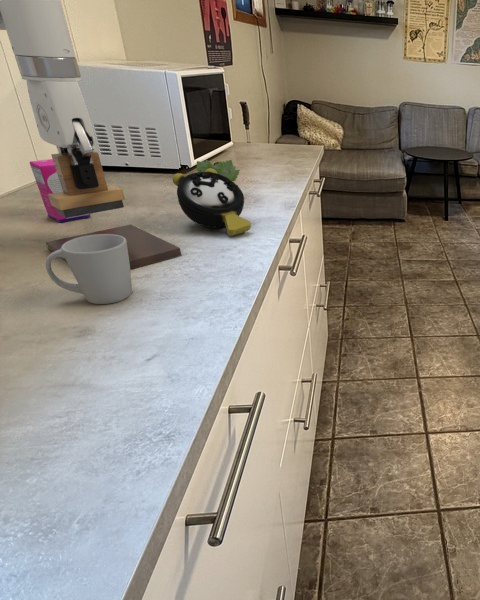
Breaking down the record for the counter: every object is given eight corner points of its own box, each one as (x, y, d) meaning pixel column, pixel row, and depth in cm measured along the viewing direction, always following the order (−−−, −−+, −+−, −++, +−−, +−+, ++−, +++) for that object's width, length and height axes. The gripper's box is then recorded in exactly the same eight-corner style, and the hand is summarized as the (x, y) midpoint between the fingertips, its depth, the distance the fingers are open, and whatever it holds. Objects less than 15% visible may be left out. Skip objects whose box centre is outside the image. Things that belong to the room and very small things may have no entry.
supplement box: (79, 211, 102) (63, 157, 97) (91, 217, 99) (75, 162, 94) (47, 216, 98) (28, 160, 93) (58, 223, 95) (39, 165, 90)
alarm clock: (197, 256, 94) (147, 188, 88) (218, 233, 107) (176, 172, 100) (250, 233, 94) (204, 162, 87) (264, 213, 107) (226, 150, 100)
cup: (138, 303, 69) (123, 249, 65) (53, 314, 65) (32, 257, 61) (141, 282, 75) (128, 231, 71) (63, 291, 71) (45, 238, 67)
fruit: (237, 202, 125) (240, 204, 112) (191, 198, 120) (189, 199, 107) (238, 163, 123) (241, 160, 110) (192, 156, 118) (190, 152, 105)
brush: (63, 219, 80) (44, 158, 75) (53, 213, 82) (34, 154, 77) (127, 207, 87) (113, 152, 83) (117, 202, 89) (102, 148, 85)
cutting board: (94, 279, 75) (91, 270, 74) (48, 249, 84) (45, 241, 83) (181, 255, 85) (180, 247, 85) (132, 231, 94) (130, 224, 93)
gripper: (1, 65, 75) (39, 180, 83) (41, 73, 67) (79, 199, 76) (57, 66, 81) (88, 174, 89) (100, 73, 73) (129, 191, 81)
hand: (84, 185), depth 82 cm, fingers closed on brush, 2 cm apart
